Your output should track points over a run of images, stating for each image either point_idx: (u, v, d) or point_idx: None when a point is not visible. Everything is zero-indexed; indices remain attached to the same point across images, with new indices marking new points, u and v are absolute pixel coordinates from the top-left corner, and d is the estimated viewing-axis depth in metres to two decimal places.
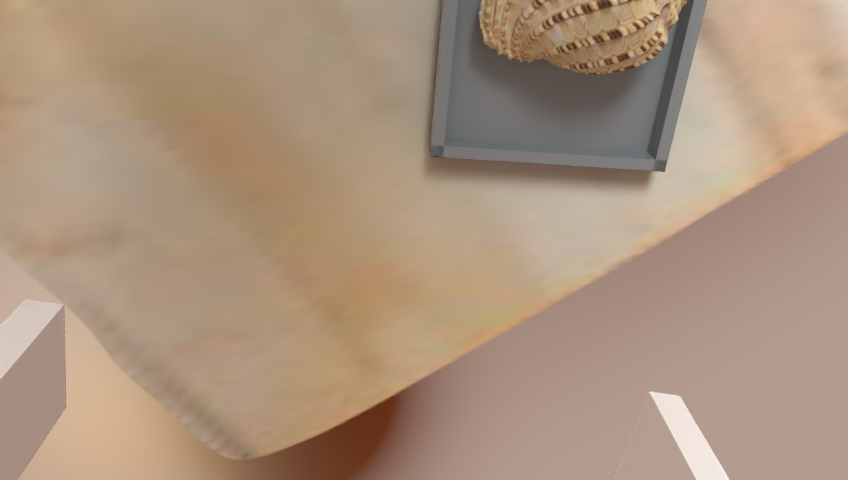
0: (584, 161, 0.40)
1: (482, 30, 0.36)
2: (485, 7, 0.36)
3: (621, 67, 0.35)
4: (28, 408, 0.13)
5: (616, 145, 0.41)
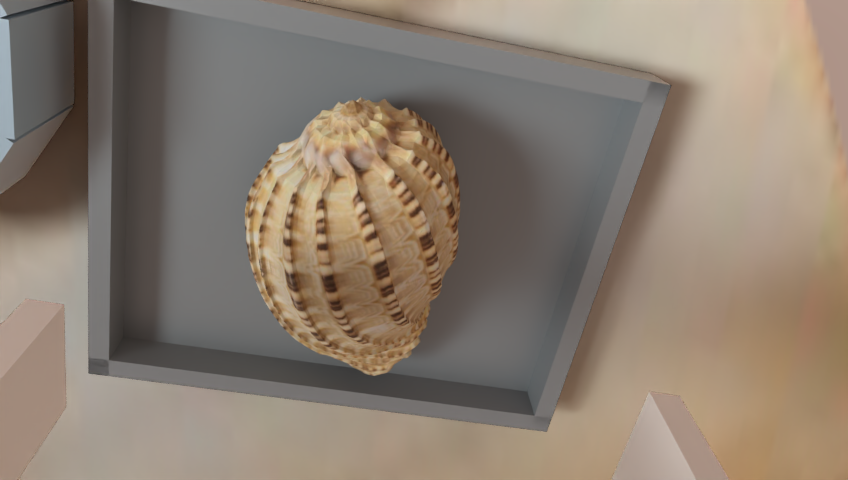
0: (611, 225, 0.23)
1: (372, 373, 0.25)
2: (343, 361, 0.25)
3: (448, 223, 0.20)
4: (28, 408, 0.13)
5: (601, 146, 0.23)
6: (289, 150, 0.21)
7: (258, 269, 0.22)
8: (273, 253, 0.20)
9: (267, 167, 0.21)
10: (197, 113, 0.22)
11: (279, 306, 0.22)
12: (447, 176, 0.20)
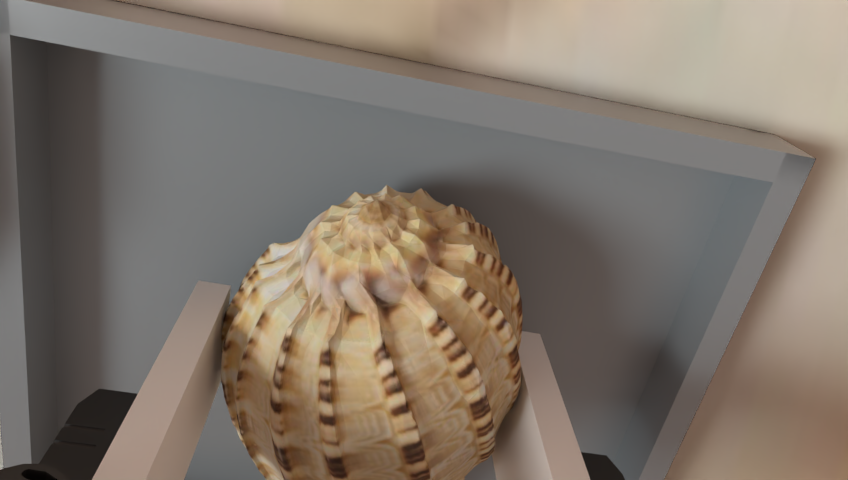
0: (716, 343, 0.17)
1: None
2: None
3: (509, 373, 0.14)
4: (209, 374, 0.15)
5: (700, 232, 0.17)
6: (283, 259, 0.15)
7: None
8: (256, 409, 0.14)
9: (252, 279, 0.15)
10: (146, 189, 0.16)
11: (265, 468, 0.16)
12: (509, 305, 0.14)
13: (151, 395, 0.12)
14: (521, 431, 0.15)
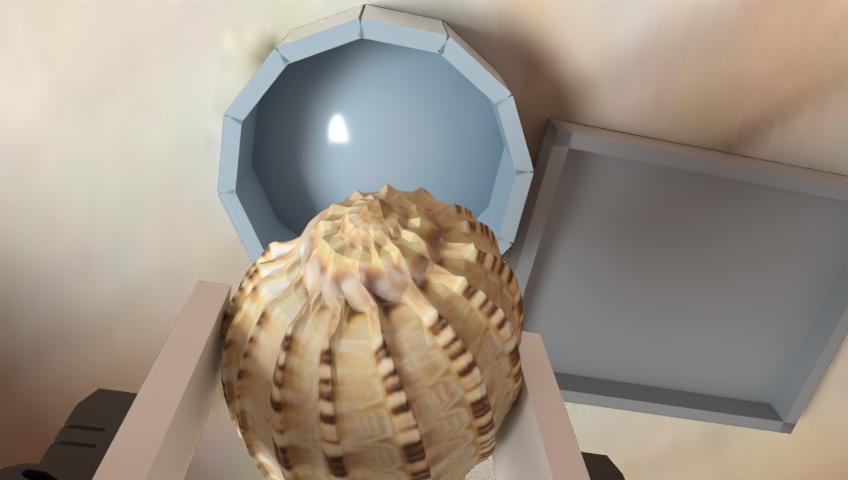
0: None
1: None
2: None
3: (510, 373, 0.14)
4: (209, 374, 0.15)
5: None
6: (284, 257, 0.15)
7: None
8: (256, 408, 0.14)
9: (252, 278, 0.15)
10: (584, 214, 0.32)
11: (265, 467, 0.16)
12: (510, 304, 0.14)
13: (151, 395, 0.12)
14: (521, 431, 0.15)
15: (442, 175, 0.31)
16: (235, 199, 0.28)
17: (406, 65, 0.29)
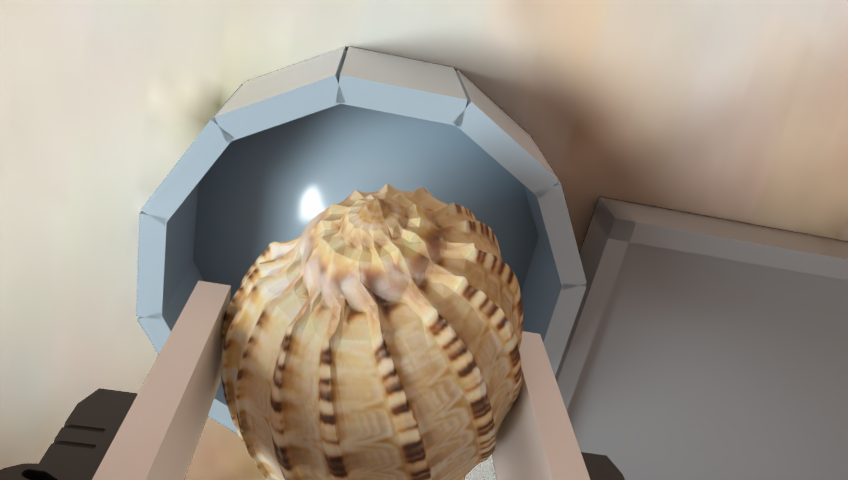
0: None
1: None
2: None
3: (510, 372, 0.14)
4: (209, 374, 0.15)
5: None
6: (284, 257, 0.14)
7: None
8: (256, 408, 0.14)
9: (252, 278, 0.15)
10: (641, 318, 0.24)
11: (265, 467, 0.16)
12: (510, 304, 0.14)
13: (151, 395, 0.12)
14: (521, 431, 0.15)
15: None
16: (162, 325, 0.19)
17: (404, 130, 0.21)
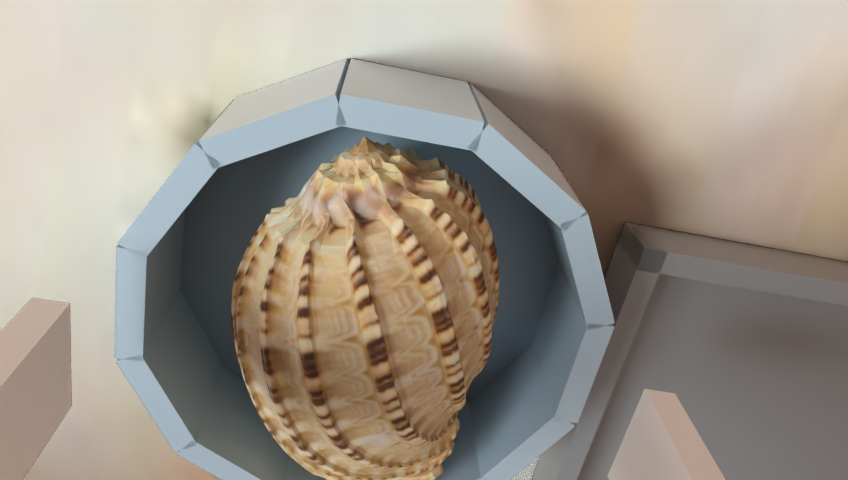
0: None
1: None
2: None
3: (476, 302, 0.15)
4: (34, 406, 0.13)
5: None
6: None
7: None
8: (252, 323, 0.16)
9: None
10: (669, 352, 0.22)
11: (259, 399, 0.17)
12: (480, 242, 0.16)
13: None
14: None
15: None
16: (143, 368, 0.17)
17: None
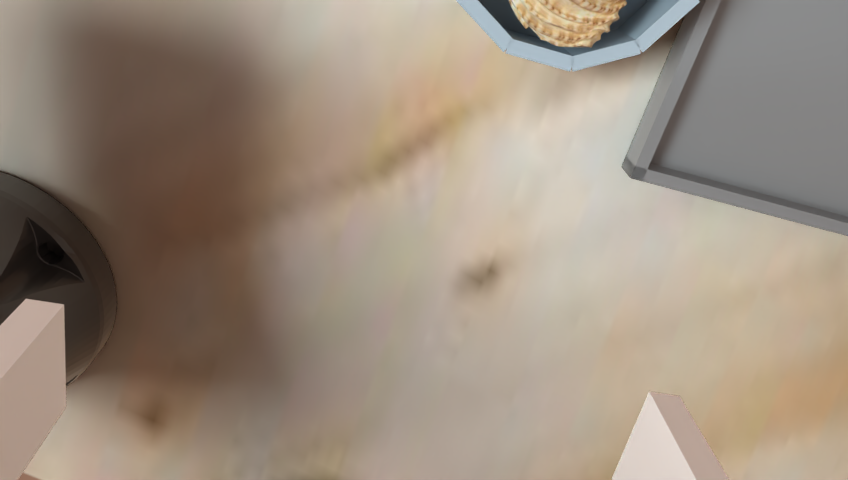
0: None
1: (575, 45, 0.31)
2: (552, 36, 0.31)
3: None
4: (28, 408, 0.13)
5: None
6: None
7: None
8: None
9: None
10: (751, 4, 0.34)
11: None
12: None
13: None
14: None
15: None
16: None
17: None
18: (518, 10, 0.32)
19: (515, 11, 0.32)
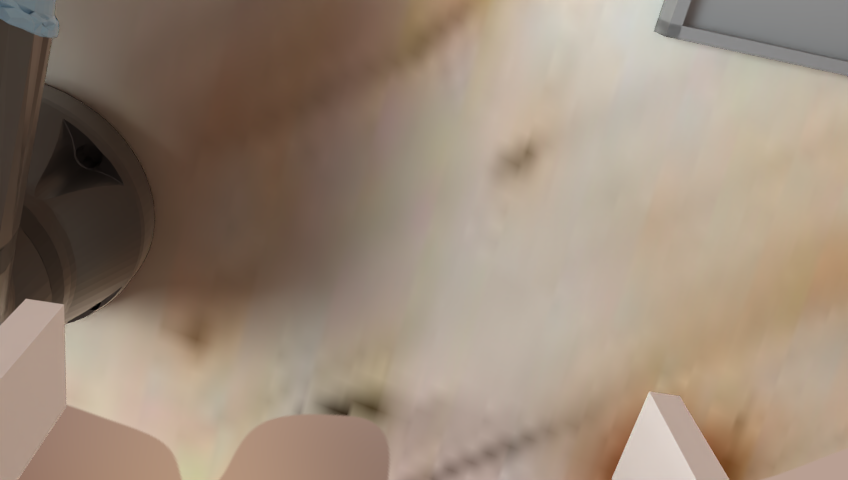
0: None
1: None
2: None
3: None
4: (28, 408, 0.13)
5: None
6: None
7: None
8: None
9: None
10: None
11: None
12: None
13: None
14: None
15: None
16: None
17: None
18: None
19: None
